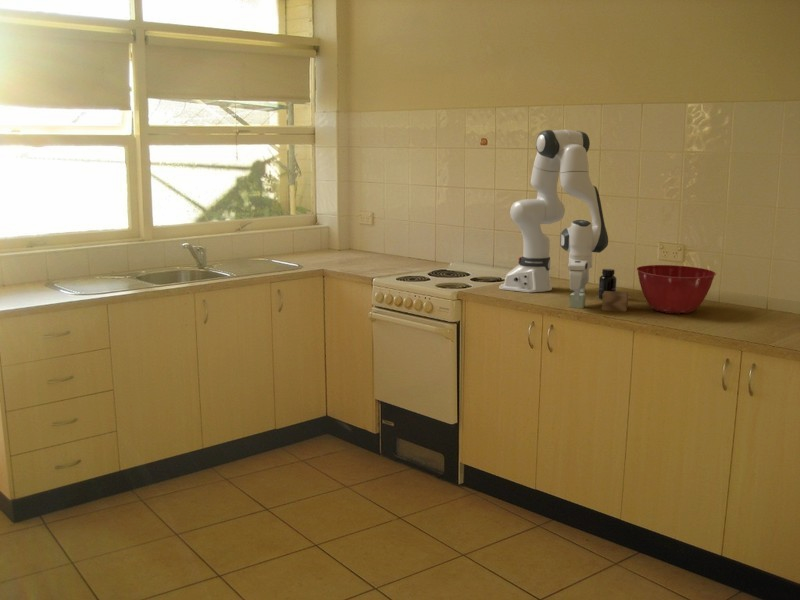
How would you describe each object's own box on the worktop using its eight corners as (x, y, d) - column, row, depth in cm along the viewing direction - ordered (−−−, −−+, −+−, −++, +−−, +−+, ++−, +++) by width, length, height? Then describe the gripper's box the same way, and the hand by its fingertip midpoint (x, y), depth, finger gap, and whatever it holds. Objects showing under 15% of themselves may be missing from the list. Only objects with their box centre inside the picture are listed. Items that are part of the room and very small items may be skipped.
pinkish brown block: (601, 310, 313) (602, 295, 312) (603, 305, 321) (604, 290, 320) (626, 312, 310) (626, 296, 309) (627, 307, 319) (628, 292, 317)
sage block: (569, 307, 318) (569, 294, 317) (572, 305, 323) (572, 292, 322) (582, 308, 316) (582, 295, 315) (584, 306, 321) (585, 293, 320)
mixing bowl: (712, 305, 321) (715, 266, 318) (713, 320, 294) (716, 278, 291) (637, 301, 330) (639, 262, 327) (631, 315, 304) (633, 273, 301)
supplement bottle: (616, 300, 331) (617, 271, 329) (598, 299, 333) (599, 270, 330) (615, 297, 338) (616, 268, 336) (598, 296, 339) (599, 267, 337)
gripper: (577, 259, 326) (576, 293, 329) (567, 265, 308) (566, 302, 310) (593, 259, 324) (592, 294, 327) (584, 266, 306) (582, 303, 308)
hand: (579, 298), depth 318 cm, fingers open, 8 cm apart
